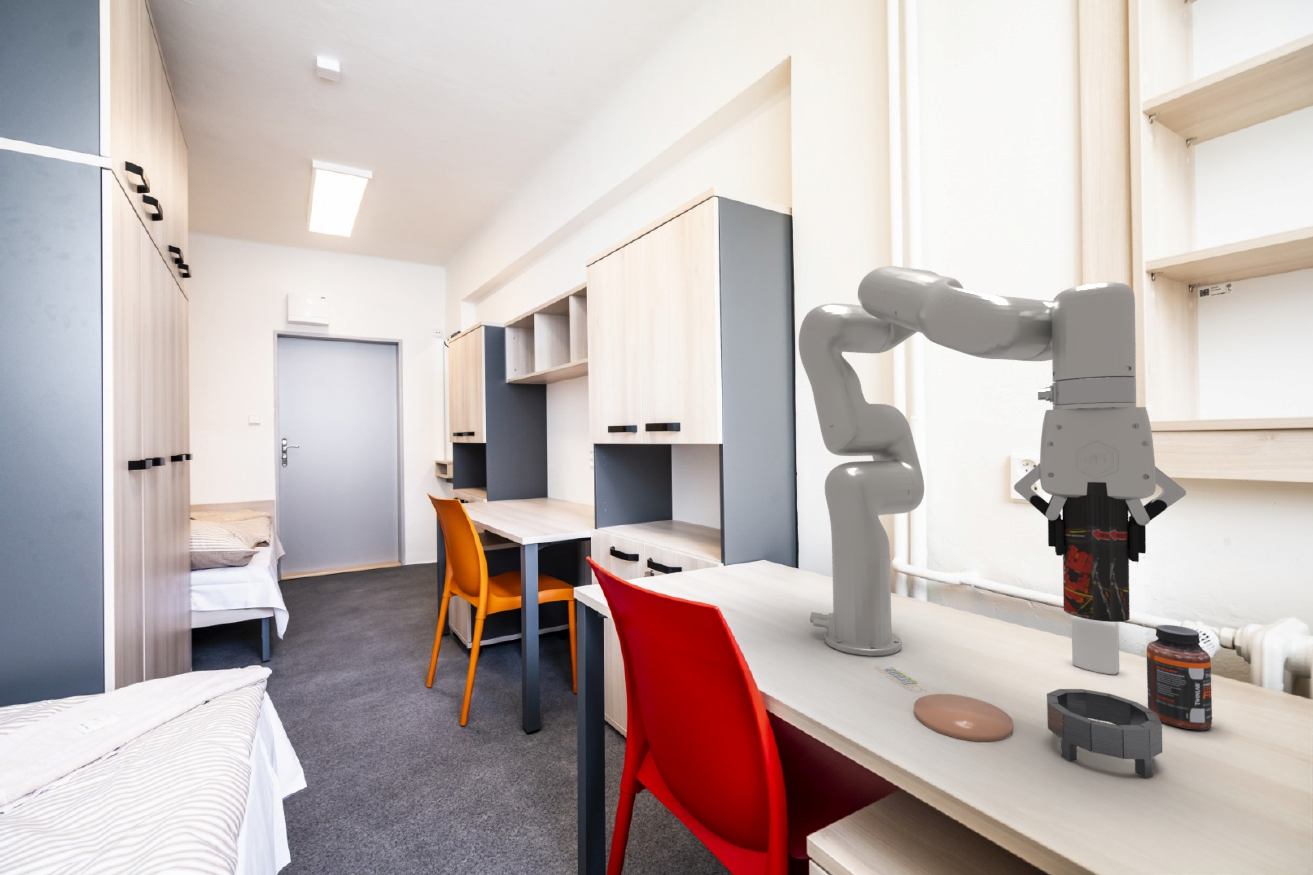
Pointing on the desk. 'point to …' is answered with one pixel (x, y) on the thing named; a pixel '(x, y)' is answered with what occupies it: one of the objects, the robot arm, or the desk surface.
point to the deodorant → (1096, 556)
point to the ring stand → (1105, 726)
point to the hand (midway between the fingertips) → (1094, 554)
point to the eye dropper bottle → (1095, 645)
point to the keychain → (901, 679)
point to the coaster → (963, 717)
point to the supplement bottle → (1179, 678)
